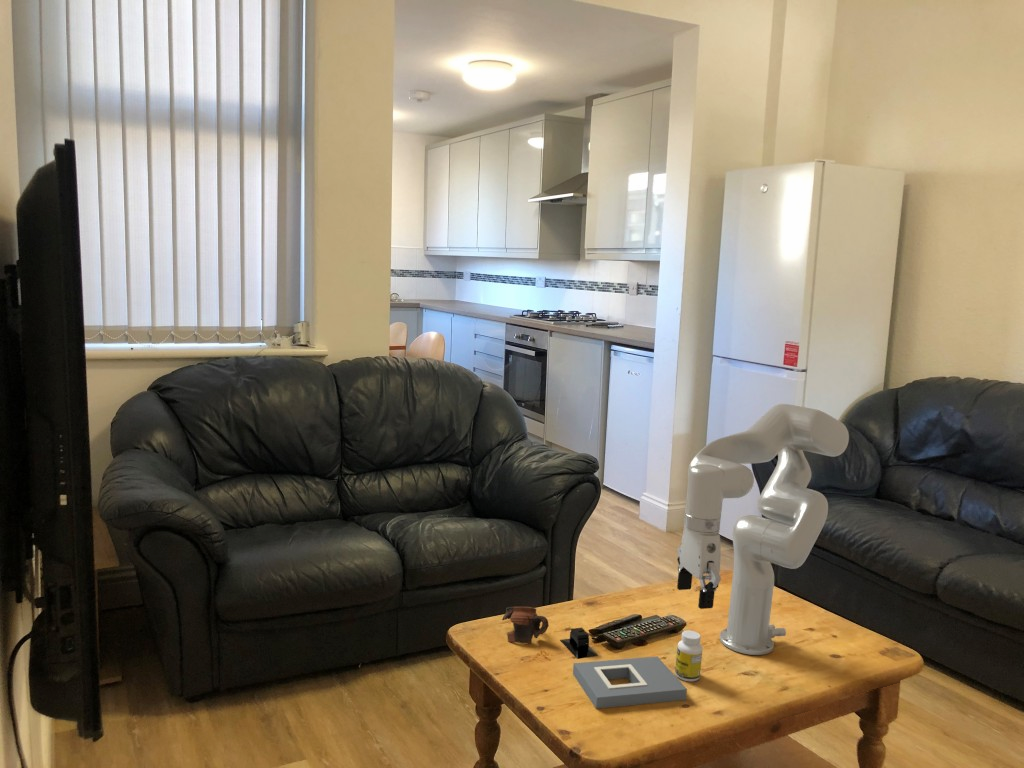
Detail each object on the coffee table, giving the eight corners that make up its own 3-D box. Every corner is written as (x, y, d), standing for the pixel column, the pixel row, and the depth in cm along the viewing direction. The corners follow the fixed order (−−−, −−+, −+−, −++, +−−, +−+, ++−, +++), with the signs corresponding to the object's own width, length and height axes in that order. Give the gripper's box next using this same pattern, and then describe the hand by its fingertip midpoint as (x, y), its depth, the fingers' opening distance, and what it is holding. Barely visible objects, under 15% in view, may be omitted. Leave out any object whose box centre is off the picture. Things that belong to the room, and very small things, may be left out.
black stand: (604, 660, 182) (606, 641, 181) (575, 664, 179) (577, 645, 179) (580, 636, 193) (581, 618, 193) (552, 639, 191) (554, 621, 190)
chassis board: (656, 666, 180) (657, 655, 179) (685, 699, 166) (687, 688, 166) (572, 673, 174) (573, 662, 174) (596, 708, 161) (597, 696, 161)
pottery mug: (494, 642, 188) (496, 606, 191) (512, 645, 195) (513, 610, 198) (541, 642, 183) (542, 604, 186) (557, 645, 190) (558, 609, 193)
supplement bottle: (669, 671, 178) (673, 630, 176) (690, 668, 180) (694, 627, 178) (684, 684, 173) (688, 641, 171) (704, 680, 175) (709, 638, 173)
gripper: (739, 535, 164) (730, 614, 166) (698, 509, 180) (691, 581, 183) (706, 537, 162) (697, 616, 164) (668, 510, 178) (661, 583, 181)
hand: (694, 598), depth 173 cm, fingers open, 9 cm apart
